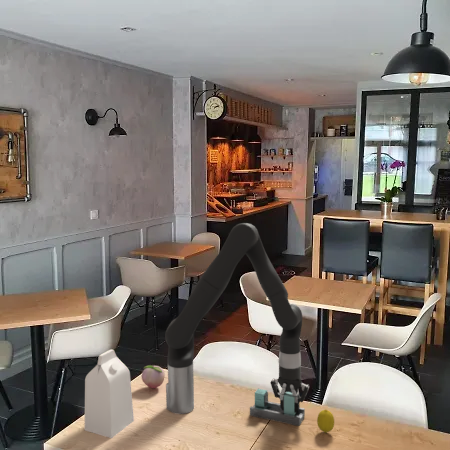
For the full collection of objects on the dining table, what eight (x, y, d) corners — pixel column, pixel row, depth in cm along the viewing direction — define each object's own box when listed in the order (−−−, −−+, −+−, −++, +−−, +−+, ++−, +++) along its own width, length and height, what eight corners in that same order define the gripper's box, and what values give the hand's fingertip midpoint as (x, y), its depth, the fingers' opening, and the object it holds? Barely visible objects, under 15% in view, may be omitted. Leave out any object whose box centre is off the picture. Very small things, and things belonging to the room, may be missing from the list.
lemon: (334, 438, 157) (334, 414, 156) (316, 436, 158) (317, 413, 157) (334, 429, 163) (334, 406, 162) (317, 427, 164) (317, 404, 163)
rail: (249, 415, 172) (249, 394, 171) (256, 406, 178) (256, 386, 177) (299, 426, 165) (299, 403, 164) (304, 416, 171) (304, 395, 170)
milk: (107, 413, 174) (104, 344, 171) (133, 420, 169) (131, 349, 166) (84, 430, 164) (80, 356, 160) (111, 438, 159) (108, 362, 155)
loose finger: (296, 411, 170) (296, 392, 169) (293, 416, 167) (293, 397, 166) (285, 409, 172) (285, 390, 171) (282, 414, 168) (282, 395, 168)
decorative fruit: (169, 385, 196) (168, 361, 195) (159, 394, 189) (158, 369, 187) (148, 382, 200) (148, 358, 198) (138, 390, 192) (137, 366, 191)
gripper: (312, 362, 168) (312, 409, 170) (273, 356, 173) (273, 401, 175) (307, 370, 161) (307, 419, 163) (266, 364, 167) (266, 411, 169)
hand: (289, 410), depth 169 cm, fingers closed on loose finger, 4 cm apart
